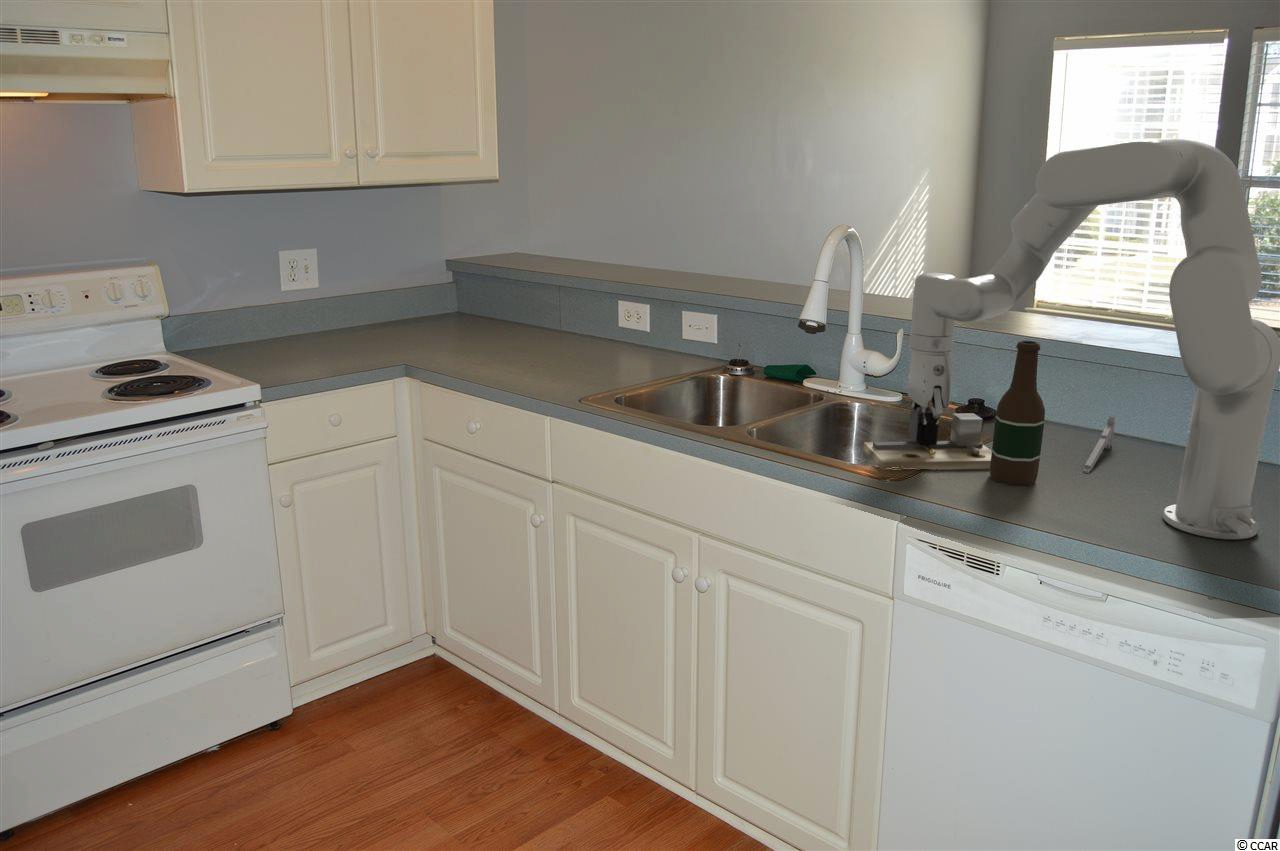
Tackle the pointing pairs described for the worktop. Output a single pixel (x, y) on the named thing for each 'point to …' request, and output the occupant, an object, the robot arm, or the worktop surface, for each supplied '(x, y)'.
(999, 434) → the beer bottle
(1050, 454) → the worktop surface
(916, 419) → the block
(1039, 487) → the worktop surface
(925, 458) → the board
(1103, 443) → the caliper
